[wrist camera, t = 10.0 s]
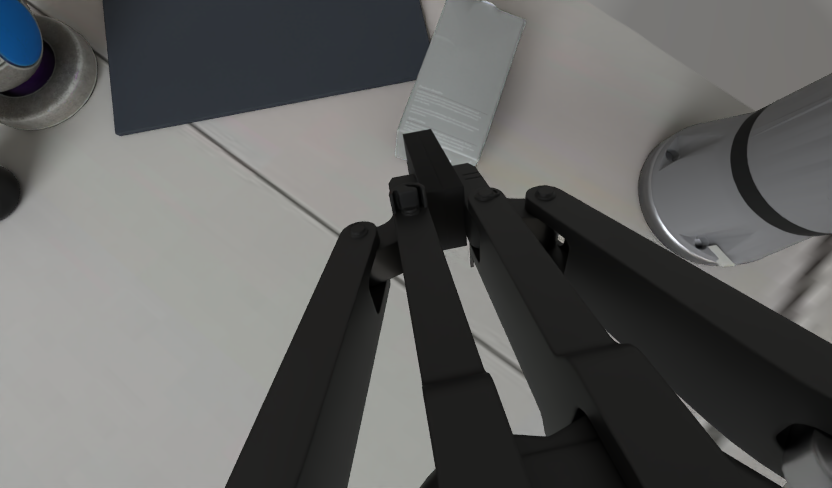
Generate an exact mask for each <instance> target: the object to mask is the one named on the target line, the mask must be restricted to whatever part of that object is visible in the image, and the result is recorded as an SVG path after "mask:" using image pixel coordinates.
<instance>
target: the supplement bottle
mask: <svg viewBox="0 0 832 488" xmlns="http://www.w3.org/2000/svg"><path fill="white" fill-rule="evenodd" d="M19 198H20V185H19V182H18V180H17V178H16V177H15V175H14V174H13V173H12V172H10V171H9V170H8V169H6V168H4V167H2V166H0V220H2V219H4V218H5V217H7V216H8V215H9V214H10V213H11V212H12V211H13V210H14V209H15V207H16V206H17V204H18V201H19Z"/></svg>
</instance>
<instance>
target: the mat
mask: <svg viewBox="0 0 832 488" xmlns="http://www.w3.org/2000/svg"><path fill="white" fill-rule="evenodd" d="M103 9H104V20H105V30H106V41H107V51H108V62H109V72H110V82H111V93H112V103H113V114H114V124H115V134H117V135H119V136H123V135H129V134H134V133H139V132H144V131H150V130H155V129H160V128H165V127H171V126H176V125H181V124H186V123H192V122H197V121H202V120H207V119H213V118H218V117H223V116H229V115H234V114H239V113H244V112H250V111H255V110H260V109H265V108H271V107H276V106H281V105H286V104H292V103H297V102H302V101H307V100H313V99H318V98H323V97H328V96H334V95H339V94H344V93H349V92H355V91H360V90H365V89H370V88H376V87H381V86H386V85H391V84H397V83H402V82H407V81H412V80H416V79H417V77H418V74H419V71H420V69H421V66H422V63H423V61H424V58H425V56H426V53H427V50H428V48H429V45H430V43H429V39H428V35H427V31H426V26H425V22H424V18H423V14H422V10H421V5H420V1H419V0H103Z"/></svg>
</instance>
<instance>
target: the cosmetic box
mask: <svg viewBox="0 0 832 488" xmlns="http://www.w3.org/2000/svg"><path fill="white" fill-rule="evenodd" d="M525 25H526V20H525V19H523V18H520V17H518V16H515V15H512V14H510V13H507V12H505V11H502V10H500V9H498V8H497V7H496V6H495V5H494V4H492V3H491V2H488V1H477V0H446V3H445V5H444V8H443V11H442V13H441V16H440V19H439V21H438V24H437V27H436V30H435V32H434V35H433V37H432V40H431V42H430V45H429V48H428V50H427V53H426V56H425V58H424V61H423V63H422V66H421V69H420V71H419V74H418V77H417V79H416V82H415V84H414V87H413V90H412V92H411V95H410V97H409V100H408V103H407V105H406V108H405V111H404V113H403V116H402V119H401V121H400V124H399V127H398V130H397V139H396V150H395V157H398V158H400V159H403V160H406V161H407V158H406V152H405V146H404V140H403V134H405V133H411V132H416V131H421V130H427V129H431V130H432V131H433V133H434V135H435V137H436V138H437V140H438V142H439V144H440V145H441V147H442V149H443V151H444V152H445V154H446V156H447V158H448V159H449V161H450V163H451V164H452V166H453V165H458V164H464V163H469V164H471V165H473V166H475V165H476V163H477V162H478V161H479V159H480V156H481V153H482V150H483V147H484V145H485V142H486V139H487V136H488V133H489V130H490V127H491V124H492V121H493V118H494V115H495V112H496V109H497V106H498V103H499V100H500V97H501V94H502V91H503V88H504V85H505V82H506V79H507V76H508V73H509V70H510V67H511V64H512V61H513V58H514V55H515V52H516V49H517V46H518V43H519V40H520V37H521V35H522V32H523V29H524V27H525Z"/></svg>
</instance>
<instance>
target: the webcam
mask: <svg viewBox="0 0 832 488" xmlns="http://www.w3.org/2000/svg"><path fill="white" fill-rule="evenodd" d="M96 78H97V62H96V57H95V54H94V52H93V50H92V48H91V46H90V45H89V43H88V42H87V41H86V40H85V39H84V38H83V37H82V36H81V35H80V34H78V33H77V32H76V31H74V30H73V29H72V28H70V27H69V26H67V25H66V24H64V23H62V22H60V21H58V20H56V19H54V18H50V17H47V16H42V15H34V14H33V13H32V12H31V10H30V8H29V7H28V5H27V4H26V2H25V1H24V0H0V123H3V124H5V125H8V126H10V127H13V128H17V129H23V130H37V129H44V128H48V127H51V126H54V125H57V124H59V123H61V122H63V121H65V120H66V119H68V118H70V117H71V116H72V115H74V114H75V113H76V112H77V111H78V110H79V109H80V108H81V107H82V106H83V105H84V104H85V103H86V101H87V100H88V98H89V97H90V95H91V93H92V91H93V88H94V86H95V82H96Z"/></svg>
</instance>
